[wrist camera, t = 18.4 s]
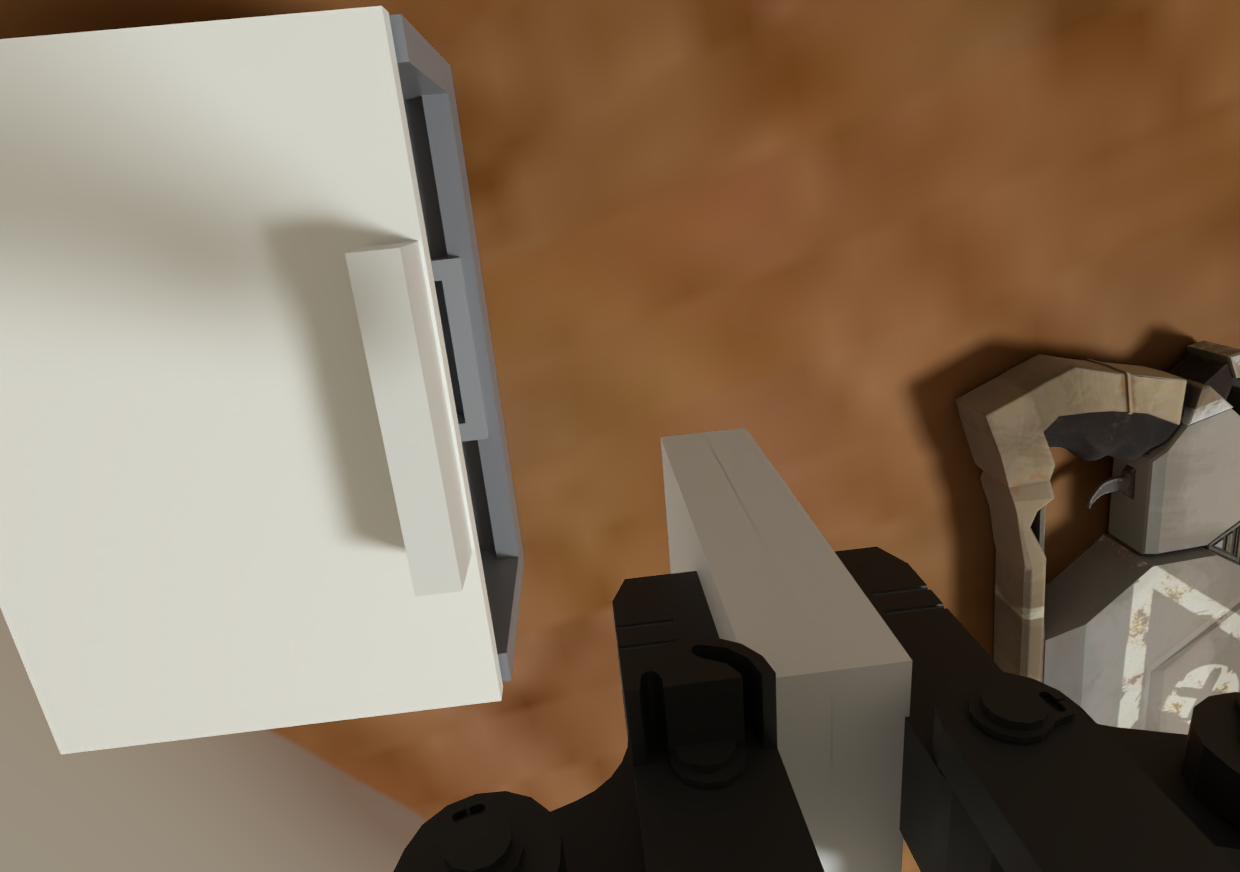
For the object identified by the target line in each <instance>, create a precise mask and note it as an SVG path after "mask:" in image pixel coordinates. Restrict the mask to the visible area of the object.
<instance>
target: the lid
mask: <svg viewBox="0 0 1240 872" xmlns="http://www.w3.org/2000/svg"><path fill="white" fill-rule="evenodd" d="M0 608H1V610H2V613H3V615H4V618H5V620H6V623H7V625H8V627H9V630H10V632H11V635H12V637H13V640H14V642H15V644H16V646H17V649H18V652H19V654H20V656H21V659H22V661H23V664H24V666H25V669H26V671H27V674H28V676H29V678H30V681H31V683H32V686H33V688H34V690H35V693H36V695H37V698H38V700H39V703H40V705H41V708H42V710H43V712H44V715H45V717H46V720H47V722H48V724H49V727H50V729H51V732H52V734H53V737H54V739H55V742H56V744H57V746H58V749H59V751H60V754H67V753H77V752H85V751H93V750H100V749H109V748H117V747H126V746H134V745H142V744H150V743H158V742H167V741H175V740H183V739H191V738H199V737H207V736H216V735H224V734H231V733H240V732H249V731H256V730H265V729H273V728H281V727H290V726H298V725H306V724H314V723H322V722H331V721H339V720H347V719H355V718H363V717H372V716H380V715H388V714H396V713H404V712H413V711H421V710H429V709H437V708H445V707H453V706H462V705H470V704H478V703H486V702H494V701H501V699H502V691H503V683H502V678H501V672H500V666H499V660H498V654H497V648H496V642H495V636H494V630H493V624H492V619H491V613H490V607H489V601H488V595H487V589H486V583H485V577H484V571H483V566H482V560H481V554H480V548H479V542H478V536H477V530H476V524H475V518H474V513H473V507H472V501H471V495H470V489H469V483H468V477H467V471H466V465H465V460H464V454H463V448H462V442H461V436H460V430H459V424H458V418H457V412H456V407H455V401H454V395H453V389H452V383H451V377H450V371H449V365H448V359H447V354H446V348H445V342H444V336H443V330H442V324H441V318H440V312H439V306H438V300H437V295H436V289H435V283H434V277H433V271H432V265H431V259H430V253H429V247H428V242H427V236H426V230H425V224H424V218H423V212H422V206H421V200H420V194H419V189H418V183H417V177H416V171H415V165H414V159H413V153H412V147H411V141H410V136H409V130H408V124H407V118H406V112H405V106H404V100H403V94H402V88H401V83H400V77H399V71H398V65H397V59H396V53H395V47H394V41H393V35H392V29H391V24H390V18H389V12H388V11H387V10H386V9H385V8H384V7H383V6H374V7H363V8H351V9H340V10H328V11H317V12H305V13H294V14H283V15H271V16H260V17H248V18H237V19H225V20H214V21H203V22H191V23H180V24H168V25H157V26H145V27H134V28H122V29H111V30H100V31H88V32H77V33H65V34H54V35H42V36H31V37H20V38H8V39H0Z"/></svg>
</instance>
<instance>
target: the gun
mask: <svg viewBox="0 0 1240 872" xmlns="http://www.w3.org/2000/svg"><path fill="white" fill-rule="evenodd" d="M1187 347H1188V351H1189V354H1188V355H1187V356H1186V357H1185V358H1184V359H1183V360H1182V361H1180V362H1179V363H1178V364H1177V365H1176V366H1175V367H1174V368H1173V369H1172V370H1171V371H1170V372H1169V373H1167V372H1164V371H1160V370H1157V369H1152V368H1149V367H1145V366H1137V365H1127V364H1117V363H1107V362H1099V361H1095V360H1092V359H1084V360H1077V359H1068V358H1061V357H1055V356H1048V355H1042V354H1038V355H1036V356H1034V357H1032V358H1030V359H1028V360H1026V361H1024V362H1022V363H1020V364H1018V365H1016V366H1014V367H1012V368H1010V369H1009V370H1007V371H1006V372H1004V373H1002V374H1001V375H999V376H998V377H996V378H994V379H992V380H990V381H989V382H987V383H985V384H983V385H981V386H979V387H977V388H976V389H974V390H972V391H970V392H968V393H966V394H964V395H963V396H961V397H959V398H957V399H955V401H956V404H957V408H958V412H959V415H960V419H961V423H962V426H963V429H964V432H965V435H966V438H967V441H968V445H969V448H970V451H971V454H972V457H973V459H974V462H975V464H976V465H977V466H978V467H979V468H981V469H982V470H983V471H982V474H981V477H980V480H981V483H982V486H983V490H984V492H985V495H986V498H987V501H988V504H989V506H990V514H991V523H992V531H993V540H994V543H995V546H996V569H995V610H994V662H995V663H996V664H997V665H998V667H999V668H1000V669H1001V670H1002V671H1003V672H1007V673H1011V674H1016V675H1020V676H1025V677H1029V678H1033V679H1035V680H1037V681H1039V682H1042V683H1044V684H1046V685H1048V686H1051V687H1053V688H1055V689H1057V690H1059V691H1061V692H1062V693H1063V694H1065V695H1066V696H1067V697H1069V698H1070V699H1071V700H1072V701H1074V702H1075V703H1076V704H1078V705H1079V706H1080V707H1081V708H1083V709H1084V711H1085V712H1086V713H1087V714H1088V715H1089V716H1090V717H1091V718H1092V719H1093V720H1094V721H1095V722H1096V723H1097V724H1101V725H1107V726H1112V727H1120V728H1129V729H1139V730H1148V731H1158V732H1167V733H1177V734H1186V735H1188V731H1189V727H1190V722H1191V717H1192V713H1193V708H1194V707H1195V706H1196V705H1197V704H1199V703H1200V702H1201V701H1203V700H1204V699H1205V698H1207V697H1208V696H1212V695H1218V694H1224V693H1231V692H1240V349H1236V348H1232V347H1228V346H1224V345H1219V344H1215V343H1211V342H1207V341H1201V342H1198V343H1194V344H1191V345H1188V346H1187ZM1049 447H1063V448H1065V449H1067V450H1068V451H1070V452H1071V453H1072V454H1074V455H1075V456H1077V457H1079V458H1081V459H1083V460H1087V461H1094V460H1098V459H1101V458H1103V457H1105V456H1107V455H1108V456H1112V457H1113V471H1112V477H1110V478H1108V479H1106V480H1104V481H1102V482H1101V483H1099V484H1098V485H1097V486H1096V488H1095V489H1094V490H1093V491H1092V493H1091V494H1090V496H1089V497H1088V499H1087V502H1086V504H1085V505H1086V507H1087V508H1088V509H1089V510H1090V508H1091V506H1092V504H1093V503H1094V501H1095V500H1096V499H1098V498H1099V497H1100V496H1102V495H1104V494H1106V493H1110V492H1111V499H1110V513H1109V527H1108V531H1109V534H1104V535H1102V536H1101V537H1100V538H1099V539H1098V540H1097V541H1096V542H1095V543H1094V544H1092V545H1091V546H1090V547H1089V548H1088V549H1087V550H1086V551H1085V552H1083V553H1082V554H1081V555H1080V556H1079V557H1078V558H1077V559H1076V560H1074V561H1073V562H1072V563H1071V564H1070V565H1069V566H1068V567H1067V568H1065V569H1064V570H1063V571H1062V572H1061V573H1060V574H1059V575H1058V576H1057V577H1055V578H1054V579H1053V580H1052V581H1051V582H1050V583H1049V584H1048V585H1046V586H1045V577H1046V556H1045V554H1044V543H1045V518H1046V504H1048V503H1049V502H1050V501H1051V500H1053V499H1054V498H1055V497H1054V493H1053V490H1052V486H1051V482H1050V479H1051V476H1052V473H1053V470H1054V468H1055V462H1054V459H1053V457H1052V454H1051V451H1050V449H1049Z"/></svg>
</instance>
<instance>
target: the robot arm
mask: <svg viewBox="0 0 1240 872" xmlns="http://www.w3.org/2000/svg"><path fill="white" fill-rule="evenodd" d="M661 448H662V462H663V475H664V488H665V501H666V514H667V527H668V540H669V554H670V567H671V574H665V575H657V576H648V577H640V578H632V579H625V580H624V582H623V584H622V585H621V587H620V589H619V591H618V593H617V594H616V596H615V598H614V600H613V612H614V621H615V630H616V639H617V648H618V658H619V667H620V676H621V685H622V694H623V703H624V711H625V719H626V728H627V736H628V748H627V750H626V753H625V756H624V758H623V761H622V763H621V764H620V766H619V767H618V768H617V770H616V771H615V772H614V774H613V775H612V777H611V778H610V779H608V780H607V781H606V782H605V783H604V784H602V785H601V786H600V787H599V788H598V789H597V790H595V791H594V792H592V793H590V794H588V795H586V796H584V797H583V798H581V799H579V800H577V801H575V802H573V803H570V804H568V805H566V806H563V807H561V808H558V809H556V810H554V811H551V812H550V811H548V810H547V809H546V808H544V807H543V806H542V805H540V804H539V803H538V802H536V801H535V800H534V799H533V798H531V797H527V796H523V795H519V794H515V793H511V792H506V791H502V792H492V793H482V794H475V795H473V796H470V797H468V798H465V799H463V800H460V801H458V802H455V803H453V804H450V805H448V806H446V807H445V808H444V809H442V810H441V811H440V812H438V813H437V814H436V815H435V816H433V817H432V818H431V819H429V820H428V821H427V822H425V823H424V824H423V825H422V826H421V828H420V829H419V830H418V832H417V833H416V834H415V836H414V837H413V839H412V840H411V841H410V843H409V844H408V846H407V847H406V848H405V850H404V852H403V854H402V856H401V858H400V860H399V862H398V864H397V866H396V868H395V870H394V872H901V868H902V849H903V838H904V840H905V841H906V843H907V845H908V847H909V849H910V851H911V853H912V855H913V857H914V859H915V861H916V863H917V865H918V867H919V869H920V871H921V872H1240V692H1231V693H1224V694H1218V695H1212V696H1208V697H1207V698H1205V699H1204V700H1203V701H1201V702H1200V703H1199V704H1197V705H1196V706H1195V707H1194V708H1193V713H1192V717H1191V722H1190V727H1189V731H1188V735H1186V734H1177V733H1167V732H1158V731H1148V730H1139V729H1129V728H1120V727H1112V726H1107V725H1101V724H1097V723H1096V722H1095V721H1094V720H1093V719H1092V718H1091V717H1090V716H1089V715H1088V714H1087V713H1086V712H1085V711H1084V709H1083V708H1081V707H1080V706H1079V705H1078V704H1076V703H1075V702H1074V701H1072V700H1071V699H1070V698H1069V697H1067V696H1066V695H1065V694H1063V693H1062V692H1061V691H1059V690H1057V689H1055V688H1053V687H1051V686H1048V685H1046V684H1044V683H1042V682H1039V681H1037V680H1035V679H1033V678H1029V677H1025V676H1020V675H1016V674H1011V673H1007V672H1003V671H1002V670H1001V669H1000V668H999V667H998V665H997V664H996V663H995V662H994V661H993V660H992V659H991V657H990V656H989V655H988V654H987V653H986V652H985V651H984V650H983V648H982V647H981V646H980V645H979V644H978V643H977V642H976V640H975V639H974V638H973V637H972V636H971V635H970V634H969V632H968V631H967V630H966V629H965V628H964V627H963V626H962V625H961V623H960V622H959V621H958V620H957V619H956V618H955V617H954V615H953V614H952V613H951V612H950V611H949V610H948V609H944V607H943V603H942V602H941V601H940V600H939V598H938V597H937V596H936V595H935V594H934V593H933V592H932V590H928V589H927V585H926V584H925V583H924V581H923V580H922V579H921V578H920V577H919V576H918V575H917V573H916V572H915V571H914V570H913V569H912V568H911V567H910V565H909V564H908V563H906V562H904V561H902V560H900V559H899V558H897V557H895V556H893V555H891V554H889V553H887V552H886V551H884V550H882V549H880V548H878V547H870V548H862V549H853V550H845V551H836V552H834V550H833V549H832V548H831V546H830V545H829V544H828V542H827V541H826V539H825V538H824V537H823V535H822V534H821V532H820V531H819V530H818V528H817V527H816V525H815V524H814V523H813V521H812V520H811V518H810V517H809V516H808V514H807V513H806V511H805V510H804V509H803V507H802V506H801V504H800V503H799V502H798V500H797V499H796V497H795V496H794V495H793V493H792V492H791V490H790V489H789V488H788V486H787V485H786V484H785V482H784V481H783V479H782V478H781V477H780V475H779V474H778V472H777V471H776V470H775V468H774V467H773V465H772V464H771V463H770V461H769V460H768V458H767V457H766V456H765V454H764V453H763V451H762V450H761V449H760V447H759V446H758V444H757V443H756V442H755V440H754V439H753V437H752V436H751V435H750V433H749V432H748V430H747V429H746V428H742V429H733V430H724V431H715V432H706V433H697V434H688V435H679V436H670V437H661Z"/></svg>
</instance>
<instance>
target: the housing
mask: <svg viewBox="0 0 1240 872" xmlns="http://www.w3.org/2000/svg"><path fill="white" fill-rule="evenodd" d="M389 18H390V24H391V29H392V35H393V41H394V47H395V53H396V59H397V65H398V71H399V77H400V83H401V88H402V94H403V100H404V106H405V112H406V118H407V124H408V130H409V136H410V141H411V147H412V153H413V159H414V165H415V171H416V177H417V183H418V189H419V194H420V200H421V206H422V212H423V218H424V224H425V230H426V236H427V242H428V247H429V253H430V259H431V265H432V271H433V277H434V283H435V289H436V295H437V300H438V306H439V312H440V318H441V324H442V330H443V336H444V342H445V348H446V354H447V359H448V365H449V371H450V377H451V383H452V389H453V395H454V401H455V407H456V412H457V418H458V424H459V430H460V436H461V442H462V448H463V454H464V460H465V465H466V471H467V477H468V483H469V489H470V495H471V501H472V507H473V513H474V518H475V524H476V530H477V536H478V542H479V548H480V554H481V560H482V566H483V571H484V577H485V583H486V589H487V595H488V601H489V607H490V613H491V619H492V624H493V630H494V636H495V642H496V648H497V654H498V660H499V666H500V672H501V678H502V682H503V681H511V677H512V668H513V659H514V649H515V640H516V631H517V622H518V613H519V603H520V594H521V585H522V576H523V567H524V554H523V548H522V541H521V534H520V528H519V521H518V514H517V507H516V501H515V494H514V487H513V481H512V474H511V467H510V460H509V454H508V447H507V440H506V434H505V427H504V420H503V414H502V407H501V400H500V393H499V387H498V380H497V373H496V367H495V360H494V353H493V346H492V340H491V333H490V326H489V320H488V313H487V306H486V299H485V293H484V286H483V279H482V273H481V266H480V259H479V253H478V246H477V239H476V232H475V226H474V219H473V212H472V206H471V199H470V192H469V185H468V179H467V172H466V165H465V159H464V152H463V145H462V138H461V132H460V125H459V118H458V112H457V105H456V98H455V92H454V85H453V78H452V71H451V66H450V65H449V64H448V63H447V62H446V61H445V60H444V58H443V57H442V56H441V55H440V54H439V53H438V52H437V51H436V50H435V49H434V48H433V47H432V46H431V45H430V44H429V43H428V42H427V41H426V40H425V39H424V37H423V36H422V35H421V34H420V33H419V32H418V31H417V30H416V29H415V28H414V27H413V26H412V25H411V24H410V23H409V22H408V21H407V20H406V19H405V18H404V16H403V15H402V14H395V15H389Z"/></svg>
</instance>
